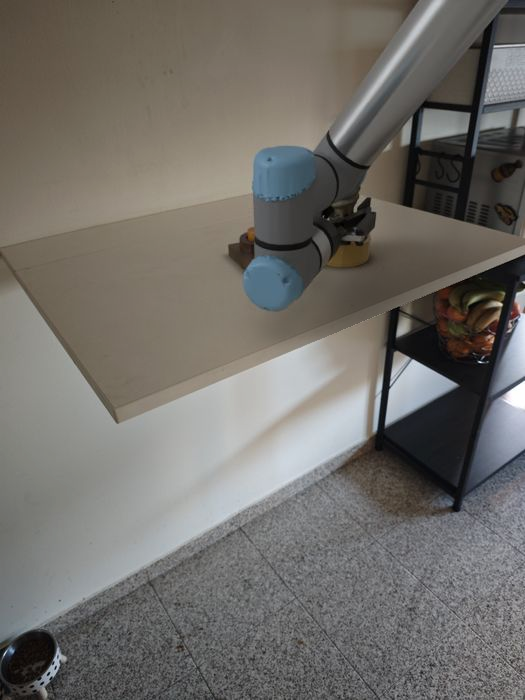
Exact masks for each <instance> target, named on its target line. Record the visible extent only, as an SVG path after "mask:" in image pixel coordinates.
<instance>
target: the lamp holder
mask: <svg viewBox="0 0 525 700" xmlns="http://www.w3.org/2000/svg"><path fill="white" fill-rule="evenodd" d="M371 242H372V236H371V234H370V233H369V234H368V236H367V237H366V238H365V239H364V244H363V246H356V243H353V242H352V241H351V243H350V245H341V246H340V247H339V248H338V250H337V252H336V254H335V255H334V256H333V257H332V258H331V260H330V261H329V262H328V263H327V264H326V265H325V266H328V267H333V268H353V267H358V266H361V265H364V264H365V263H366V262H367V261H369V256H370V252H371Z"/></svg>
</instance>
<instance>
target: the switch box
mask: <svg viewBox="0 0 525 700" xmlns="http://www.w3.org/2000/svg"><path fill="white" fill-rule="evenodd" d="M238 240H239V241H238V242H234V243H228V244H227V247H228V250H227V251H228V256H229V257H230V258H231V259H232V260H233V261H234V262H235V263H236V264H237V265H238V266H239V267H240V268H242V269H243V270H244V271H245V270H246V268H247V267H248V265H249V264H250V263H251V261H252V260H253V259H255V250H254V241H250V240H248V233H247V231H246V232H244V233H242V234H240V236H239V239H238Z"/></svg>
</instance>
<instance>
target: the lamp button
mask: <svg viewBox="0 0 525 700" xmlns="http://www.w3.org/2000/svg"><path fill="white" fill-rule="evenodd" d="M246 232H247V233H248V240H250V241H254V240H255V232H254V226H251V227H248V228H247V230H246Z"/></svg>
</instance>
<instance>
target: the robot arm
mask: <svg viewBox="0 0 525 700" xmlns="http://www.w3.org/2000/svg"><path fill="white" fill-rule="evenodd" d="M508 2H509V0H418V1H417V3H416V4H415V5H414V7H413V8H412V10H411V11H410V13H409V14H408V16H407V17H406V18H405V19H404V21H403V22H402V23H401V25H400V27H399V28H398V30H397V31H396V33H395V34H394V35H393V37H392V38H391V40H390V41H389V43H388V44H387V45H386V47H385V48H384V49H383V51H382V52H381V54H380V56H378V58H377V60H376V61H375V63H374V64H373V65H372V67H370V70H369V71H368V73H367V74H366V75H365V76H364V78H363V79H362V81H361V82H360V84H359V85H358V86H357V88H356V89H355V91H354V92H353V94H352V95H351V96H350V98H349V99H348V101H347V102H346V104H345V105H344V107H343V108H342V110H341V111H340V113H339V114H338V115H337V116H336V118H335V120H334V121H333V123H332V124H331V125H330V127H329V129H328V130H327V132H326V133H325V135H324V136H323V137H322V138H321V139H320V141H319V143H317V145H316V147H315V148H314V150H313V151H312V150H311V149H309V148H307V147H304V146H299V145H298V146H297V145H276V146H269V147H265V148H262V149H260V150H259V151H258V152H257V153H256V154H255V156H254V158H253V169H252V170H253V171H252V181H251V190H252V203H253V206H252V209H253V227H254V232H255V240H254V250H255V259H253V260H252V261H251V263H250V264H249V265H248V267H247V268H246V270H244V272H243V276H242V288H243V290H244V292H245V294H246V297H247V298H248V299H249V300H250V302H251V303H252V304H253V305H255V306H256V307H257V308H260V309H261V310H264V311H267V312H280V311H284V310H286V309H287V308H288V307H290V306H291V305H292V304H293V303H294V302H295V301H297V300H298V299H300V297H301V296H302V295H303V293H304V292H305V290H306V289H307V288H308V287H309V286H310V285H311V283H312V282H313V281H314V279H315V278H316V277H317V276H318V275H319V273H321V271H322V270H323V269H324V267H325V266H327V265H326V264H327V263H328V262H329V261H330V260H331V258H332V257H333V256H334V255H335V254H336V252H337V250H338V248H339V247H340V246H341V245H344V244H345V243H346V242H347V241H352V242H353V243H356V246H363V244H364V239H365V238H366V237H367V236H368V234H370V233H371V232H372V231H373V230H374V229H375V227H376V221H377V212H376V211H372V205H371V203H372V197H370V196H366V198H365V199H364V200H363V201H362V202H361V203H360V204H359V205H358V206H357V207H356V211H354V213H353V214H351V215H349V216H347V217H345V218H340V217H339V218H337V219H334V220H329V216H330V214H332V213H334V208H333V207H332V206H331V205H333V204H334V203H336V202H338V201H340V200H341V199H344V198H346V197H348V196H350V195H351V194H352V193H353V192H354V191H355V190H356V189H357V188H358V187H359V186H362V184H363V183H364V181H365V179H366V176H367V174H368V171H369V169H370V168H371V167H372V165H373V164H374V162H376V160H377V158H379V157H380V155H381V154H382V153H383V151H384V150H386V148H387V147H388V145H389V144H390V143H391V142H392V141H393V140H394V139H395V137H396V136H397V135H398V134H399V132H400V131H401V130H402V129H403V128H404V126H405V125H406V124H407V123H408V122H409V121H410V119H411V118H412V117H413V116H414V115H415V113H416V112H417V111H418V110H419V109H420V107H421V106H422V105H423V104H424V102H425V101H426V100H427V99H428V98H429V96H430V95H431V94H432V93H433V91H434V90H435V89H436V88H437V87H438V86H439V85H440V83H441V82H442V81H443V80H444V79H445V77H446V76H448V74H449V73H450V71H452V69H453V68H454V66H456V64H457V63H458V62H459V60H460V59H461V58H462V57H463V56H464V55H465V53H466V52H467V51H468V50H469V49H470V47H471V46H472V45H473V43H475V41H476V40H477V39H478V38H479V36H480V35H481V34H482V33H483V32H484V31H485V29H486V28H487V27H488V26H489V24H490V23H492V21H493V20H494V18H495V17H496V16H497V15H498V14H499V13H500V12H501V10H502V9H503V8H504V7H505V6H506V4H507V3H508Z"/></svg>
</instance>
